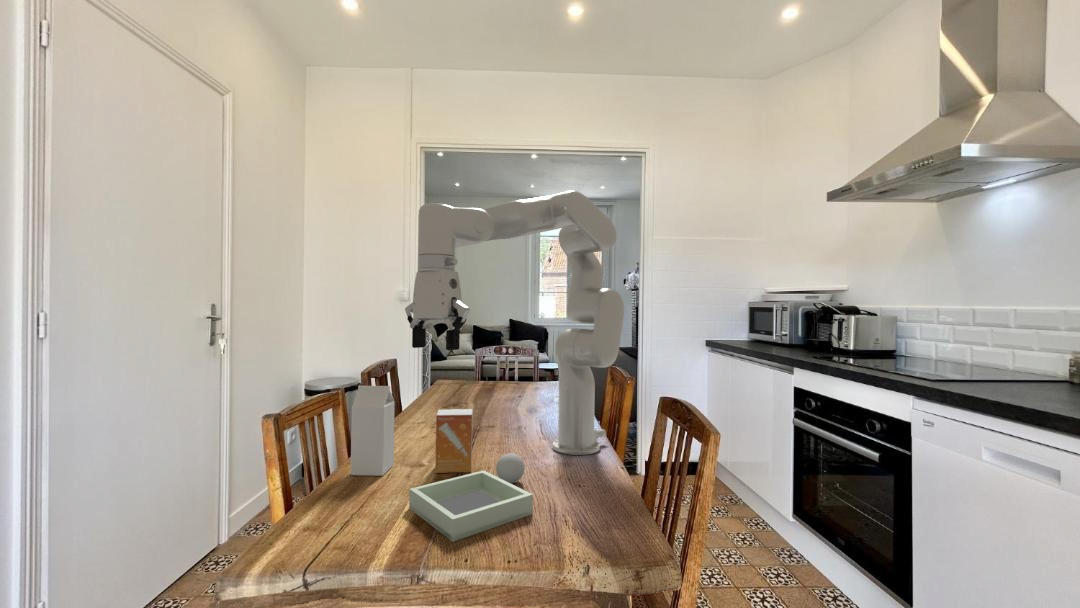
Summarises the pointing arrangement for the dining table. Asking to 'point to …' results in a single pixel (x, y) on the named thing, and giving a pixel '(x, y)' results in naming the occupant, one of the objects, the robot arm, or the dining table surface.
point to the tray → (459, 526)
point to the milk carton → (372, 431)
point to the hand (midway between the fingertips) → (435, 348)
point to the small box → (453, 440)
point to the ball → (510, 468)
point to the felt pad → (467, 502)
